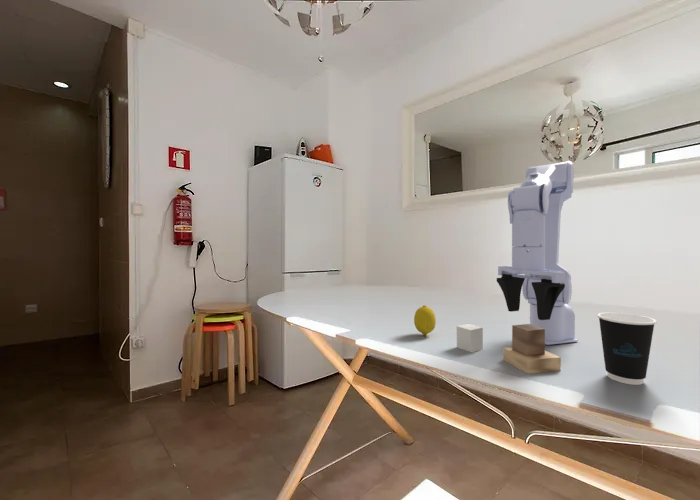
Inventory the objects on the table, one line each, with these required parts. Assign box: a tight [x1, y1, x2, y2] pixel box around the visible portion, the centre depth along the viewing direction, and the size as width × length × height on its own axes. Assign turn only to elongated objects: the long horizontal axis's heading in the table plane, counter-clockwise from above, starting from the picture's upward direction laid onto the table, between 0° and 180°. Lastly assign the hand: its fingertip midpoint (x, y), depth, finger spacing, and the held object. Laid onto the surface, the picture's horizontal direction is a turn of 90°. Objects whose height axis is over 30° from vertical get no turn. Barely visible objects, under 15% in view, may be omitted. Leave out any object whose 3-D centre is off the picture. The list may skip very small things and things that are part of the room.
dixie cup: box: [596, 311, 657, 386], centre depth 56 cm, size 8×8×11 cm
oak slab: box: [503, 346, 562, 374], centre depth 63 cm, size 7×7×3 cm
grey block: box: [456, 323, 484, 353], centre depth 74 cm, size 4×4×5 cm
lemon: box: [413, 304, 437, 336], centre depth 84 cm, size 6×6×8 cm
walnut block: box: [511, 323, 546, 357], centre depth 63 cm, size 4×4×5 cm
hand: (527, 315), depth 63 cm, fingers open, 7 cm apart
